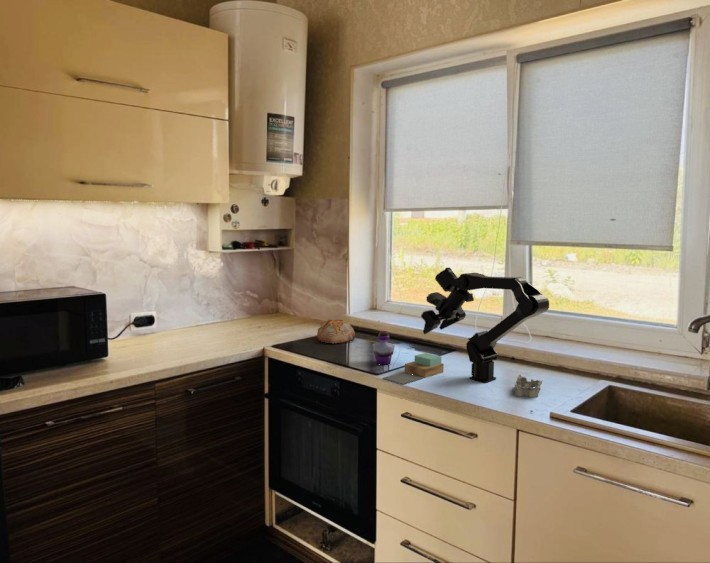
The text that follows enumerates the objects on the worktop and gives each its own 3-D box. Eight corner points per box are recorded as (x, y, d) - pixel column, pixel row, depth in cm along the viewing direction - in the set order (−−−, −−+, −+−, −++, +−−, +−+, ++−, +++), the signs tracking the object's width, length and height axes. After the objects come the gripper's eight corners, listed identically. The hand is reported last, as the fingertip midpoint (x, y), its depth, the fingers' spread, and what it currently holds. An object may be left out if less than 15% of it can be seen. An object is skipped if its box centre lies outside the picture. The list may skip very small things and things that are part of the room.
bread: (312, 346, 232) (311, 323, 230) (323, 336, 251) (322, 315, 250) (350, 346, 228) (349, 322, 227) (359, 335, 248) (357, 314, 246)
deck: (443, 372, 190) (443, 363, 190) (424, 378, 183) (425, 369, 183) (423, 366, 196) (423, 358, 196) (404, 372, 190) (404, 363, 189)
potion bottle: (398, 362, 203) (398, 330, 202) (390, 367, 195) (390, 334, 194) (377, 359, 207) (377, 328, 205) (367, 365, 199) (368, 332, 198)
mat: (423, 378, 182) (423, 377, 182) (403, 384, 176) (403, 383, 176) (402, 372, 189) (402, 371, 189) (382, 378, 182) (382, 377, 182)
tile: (441, 363, 190) (441, 356, 190) (430, 366, 186) (430, 359, 186) (425, 359, 195) (425, 352, 195) (414, 362, 191) (414, 355, 191)
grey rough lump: (518, 386, 175) (519, 373, 175) (543, 389, 172) (543, 376, 172) (511, 395, 166) (512, 382, 166) (537, 399, 163) (538, 385, 162)
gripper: (456, 281, 199) (435, 310, 208) (422, 288, 186) (401, 318, 195) (476, 303, 193) (453, 332, 202) (443, 312, 181) (420, 342, 190)
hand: (432, 330), depth 198 cm, fingers open, 9 cm apart
